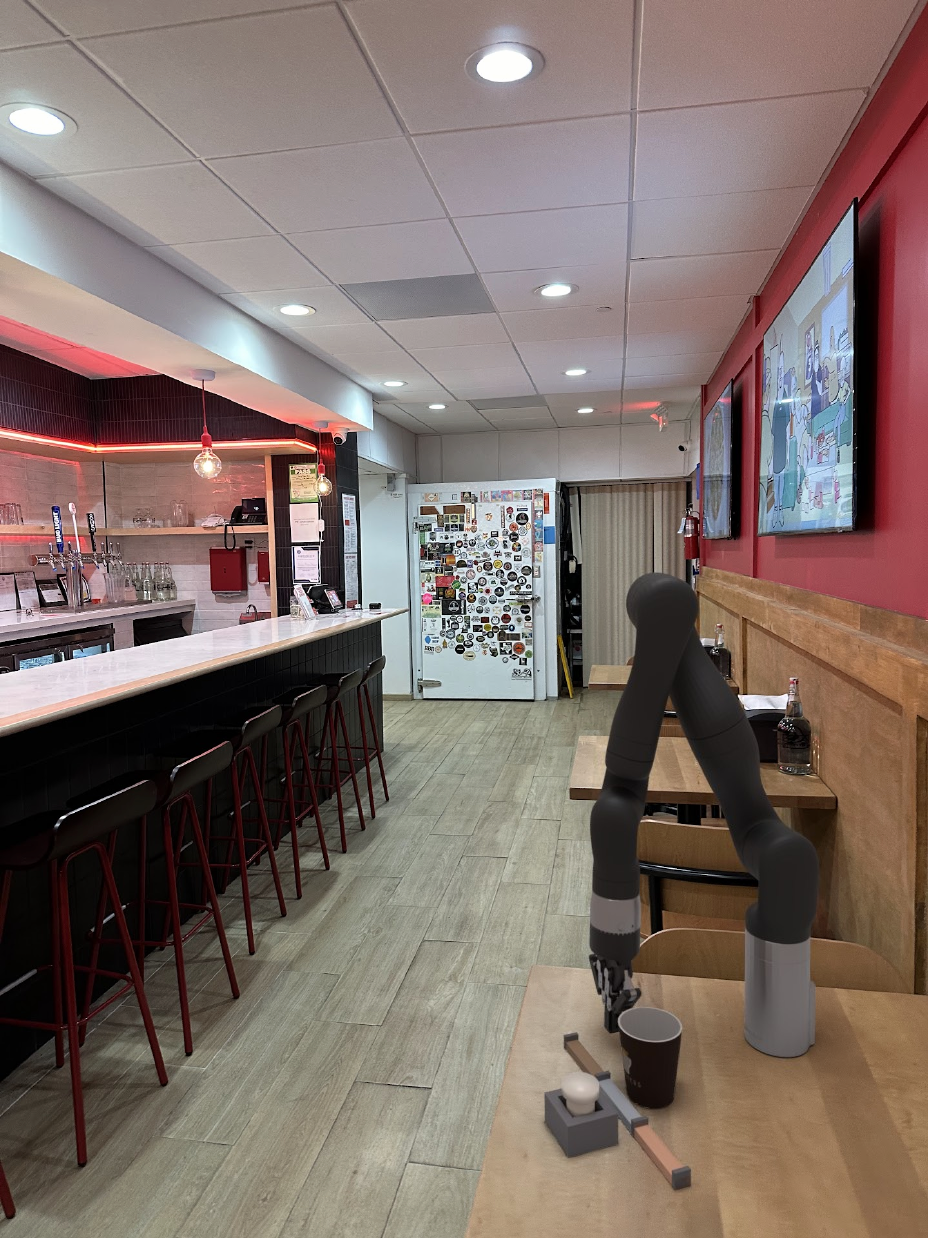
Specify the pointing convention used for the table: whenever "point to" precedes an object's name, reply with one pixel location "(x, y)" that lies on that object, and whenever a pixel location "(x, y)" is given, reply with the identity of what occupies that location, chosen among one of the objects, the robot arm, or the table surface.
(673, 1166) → the terracotta segment
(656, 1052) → the coffee mug
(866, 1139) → the table surface
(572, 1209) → the table surface
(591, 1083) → the dome plunger
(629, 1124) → the slate segment
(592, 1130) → the dome housing
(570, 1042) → the walnut segment
